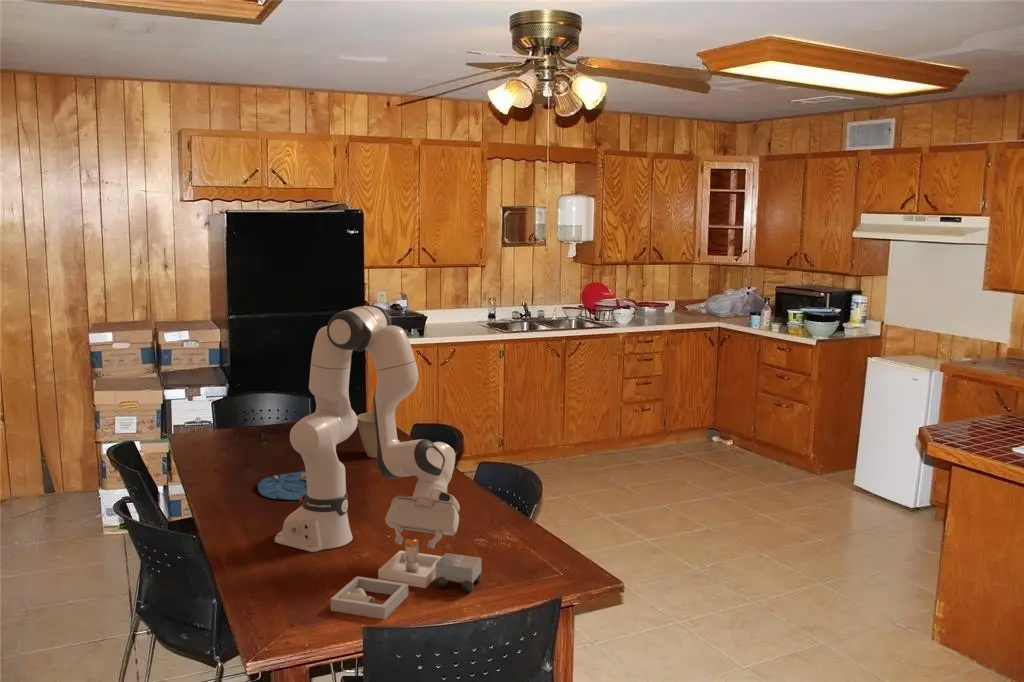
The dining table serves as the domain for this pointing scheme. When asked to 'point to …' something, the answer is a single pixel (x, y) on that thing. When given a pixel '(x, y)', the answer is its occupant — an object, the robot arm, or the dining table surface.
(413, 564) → the jar with orange lid
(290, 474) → the decorative plate
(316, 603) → the dining table surface
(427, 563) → the tray
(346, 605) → the parts bin
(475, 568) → the wheeled grey cart
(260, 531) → the dining table surface
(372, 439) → the plant pot
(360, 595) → the pipe fitting
